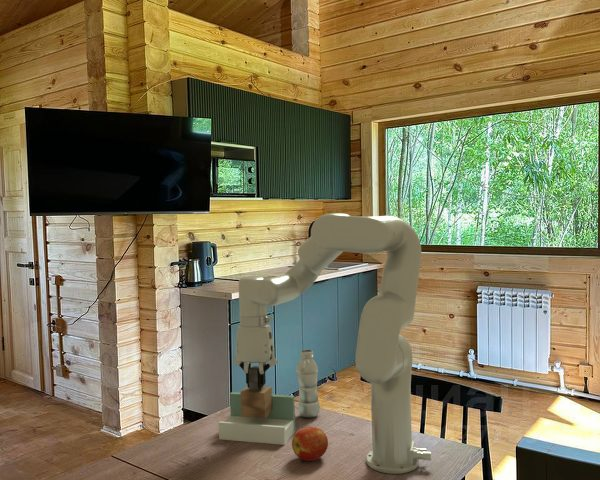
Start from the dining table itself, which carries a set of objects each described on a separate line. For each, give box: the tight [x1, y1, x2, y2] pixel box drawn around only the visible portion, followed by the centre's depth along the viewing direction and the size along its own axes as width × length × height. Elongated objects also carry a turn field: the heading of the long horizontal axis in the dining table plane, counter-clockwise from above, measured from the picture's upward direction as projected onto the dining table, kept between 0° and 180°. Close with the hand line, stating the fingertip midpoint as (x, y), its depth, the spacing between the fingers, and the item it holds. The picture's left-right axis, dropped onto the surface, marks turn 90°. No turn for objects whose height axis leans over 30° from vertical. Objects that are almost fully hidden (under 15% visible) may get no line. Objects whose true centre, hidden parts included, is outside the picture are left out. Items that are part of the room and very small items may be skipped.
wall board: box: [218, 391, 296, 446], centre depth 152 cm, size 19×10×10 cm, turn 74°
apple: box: [291, 426, 329, 462], centre depth 136 cm, size 8×8×8 cm
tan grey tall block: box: [239, 365, 273, 419], centre depth 152 cm, size 7×6×13 cm
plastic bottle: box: [296, 349, 321, 418], centre depth 165 cm, size 6×7×20 cm
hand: (256, 386), depth 152 cm, fingers closed on tan grey tall block, 2 cm apart
